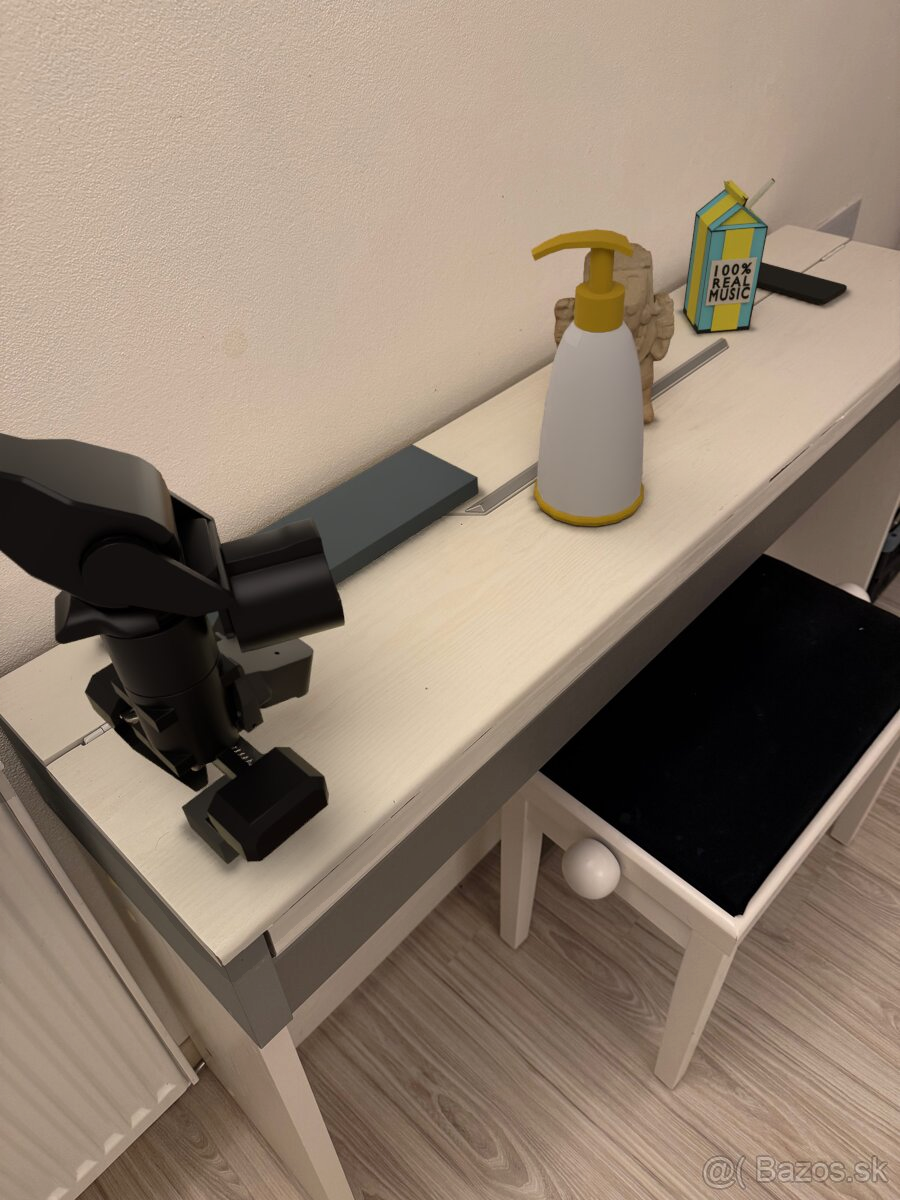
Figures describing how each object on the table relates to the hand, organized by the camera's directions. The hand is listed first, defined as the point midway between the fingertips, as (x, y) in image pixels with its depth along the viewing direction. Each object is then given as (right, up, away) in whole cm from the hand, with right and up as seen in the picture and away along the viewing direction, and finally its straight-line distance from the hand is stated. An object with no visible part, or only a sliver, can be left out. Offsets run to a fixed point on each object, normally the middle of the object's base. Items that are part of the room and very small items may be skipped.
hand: (230, 814), depth 61 cm
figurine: (+34, +36, +39) cm, 62 cm away
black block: (0, -1, +1) cm, 1 cm away
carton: (+52, +53, +56) cm, 93 cm away
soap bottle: (+29, +26, +28) cm, 48 cm away
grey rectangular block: (+1, +19, +23) cm, 30 cm away
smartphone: (+64, +60, +63) cm, 108 cm away
